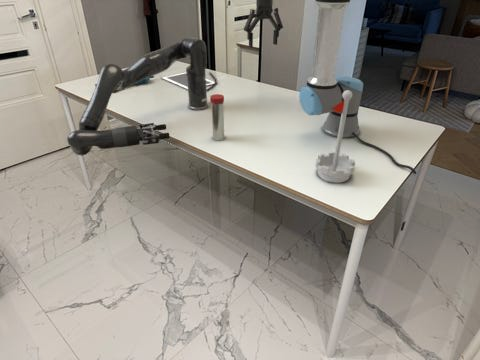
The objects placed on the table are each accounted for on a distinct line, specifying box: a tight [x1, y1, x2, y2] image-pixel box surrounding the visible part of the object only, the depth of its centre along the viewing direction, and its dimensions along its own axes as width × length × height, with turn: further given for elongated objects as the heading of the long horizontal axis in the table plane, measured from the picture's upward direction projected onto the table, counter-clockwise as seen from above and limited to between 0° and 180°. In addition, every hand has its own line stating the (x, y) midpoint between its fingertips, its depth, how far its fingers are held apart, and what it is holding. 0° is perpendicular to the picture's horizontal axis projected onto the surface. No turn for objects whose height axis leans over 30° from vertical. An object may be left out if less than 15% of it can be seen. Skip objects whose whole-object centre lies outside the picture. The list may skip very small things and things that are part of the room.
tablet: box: [161, 71, 218, 91], centre depth 211 cm, size 32×20×1 cm, turn 41°
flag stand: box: [315, 90, 356, 183], centre depth 111 cm, size 13×13×30 cm
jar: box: [210, 102, 225, 142], centre depth 139 cm, size 5×5×18 cm
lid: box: [209, 93, 225, 104], centre depth 135 cm, size 5×6×2 cm
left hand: (167, 130), depth 135 cm, fingers open, 8 cm apart
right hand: (263, 45), depth 167 cm, fingers open, 13 cm apart
